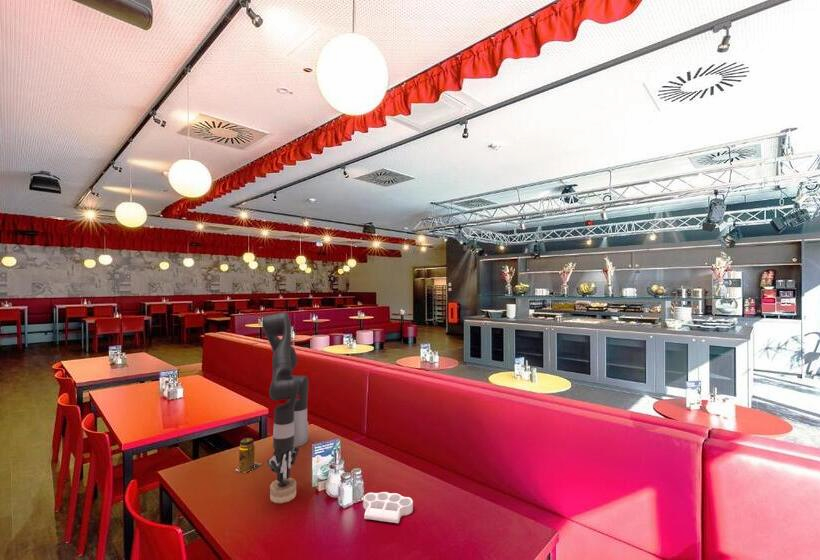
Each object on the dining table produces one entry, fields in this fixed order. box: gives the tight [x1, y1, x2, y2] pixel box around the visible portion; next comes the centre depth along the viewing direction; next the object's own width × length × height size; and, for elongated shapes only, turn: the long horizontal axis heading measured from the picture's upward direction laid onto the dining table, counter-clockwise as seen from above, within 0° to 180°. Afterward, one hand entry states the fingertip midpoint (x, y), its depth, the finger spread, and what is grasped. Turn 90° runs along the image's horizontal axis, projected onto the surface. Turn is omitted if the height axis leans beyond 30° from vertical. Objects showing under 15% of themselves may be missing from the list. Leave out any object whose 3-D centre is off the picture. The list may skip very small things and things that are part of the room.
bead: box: [269, 477, 297, 504], centre depth 140 cm, size 9×9×4 cm
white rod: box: [280, 460, 287, 487], centre depth 140 cm, size 2×2×12 cm
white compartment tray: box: [362, 491, 414, 524], centre depth 132 cm, size 3×18×15 cm
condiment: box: [234, 437, 263, 472], centre depth 161 cm, size 7×8×12 cm
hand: (283, 479), depth 140 cm, fingers closed on white rod, 2 cm apart
